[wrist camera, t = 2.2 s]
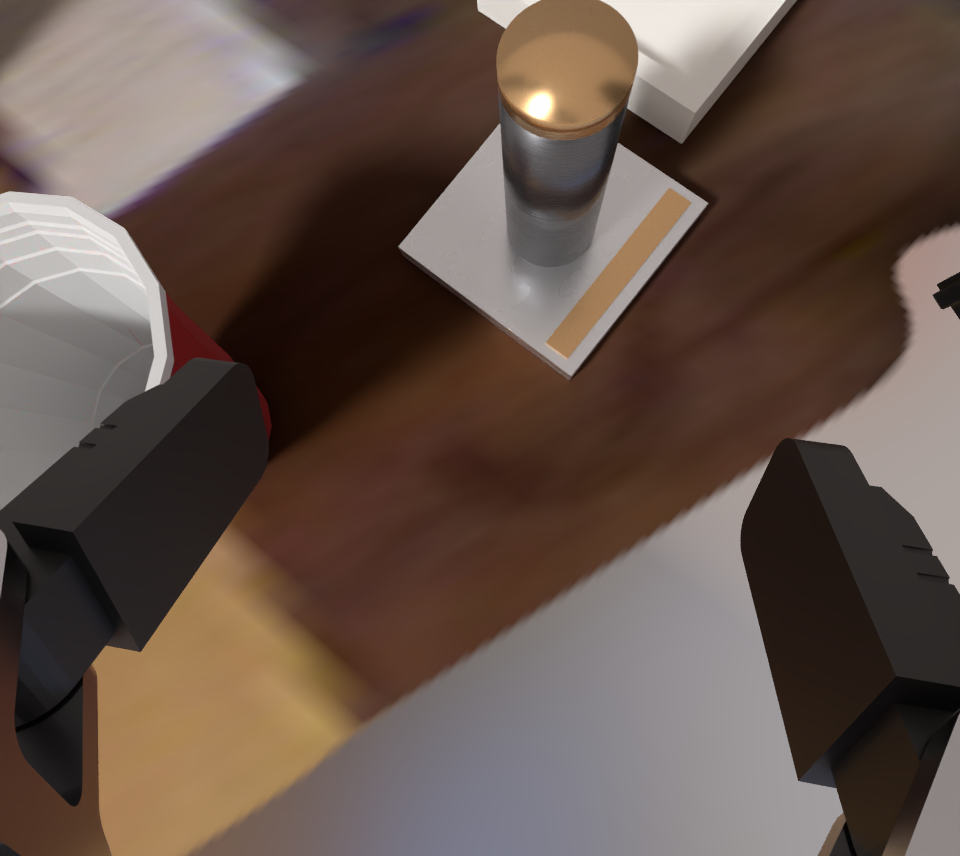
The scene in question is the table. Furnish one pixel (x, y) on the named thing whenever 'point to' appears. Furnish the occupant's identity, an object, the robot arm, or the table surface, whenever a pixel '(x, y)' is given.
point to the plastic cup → (77, 331)
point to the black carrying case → (949, 294)
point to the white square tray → (680, 51)
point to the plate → (551, 290)
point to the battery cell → (561, 121)
